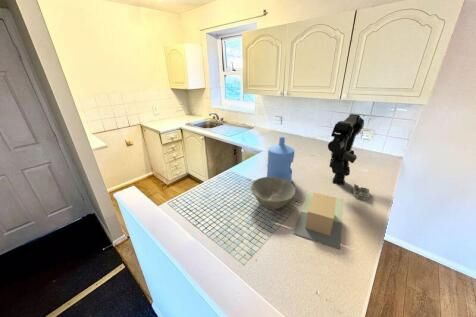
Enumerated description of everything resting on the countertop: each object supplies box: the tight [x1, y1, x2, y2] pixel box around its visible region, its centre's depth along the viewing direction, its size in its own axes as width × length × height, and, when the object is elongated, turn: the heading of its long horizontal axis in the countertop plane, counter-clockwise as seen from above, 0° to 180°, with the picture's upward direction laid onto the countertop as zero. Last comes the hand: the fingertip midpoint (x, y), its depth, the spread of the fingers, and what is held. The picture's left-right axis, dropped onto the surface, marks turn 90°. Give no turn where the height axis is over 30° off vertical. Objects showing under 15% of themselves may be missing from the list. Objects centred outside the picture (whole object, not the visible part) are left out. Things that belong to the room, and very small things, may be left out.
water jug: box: [266, 136, 295, 183], centre depth 119 cm, size 16×16×28 cm
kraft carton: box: [305, 192, 337, 236], centre depth 87 cm, size 16×10×9 cm, turn 152°
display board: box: [292, 190, 344, 251], centre depth 93 cm, size 36×18×1 cm, turn 152°
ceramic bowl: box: [250, 176, 296, 210], centre depth 100 cm, size 22×23×10 cm
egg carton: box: [352, 183, 370, 201], centre depth 107 cm, size 11×8×4 cm
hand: (334, 173), depth 106 cm, fingers closed
